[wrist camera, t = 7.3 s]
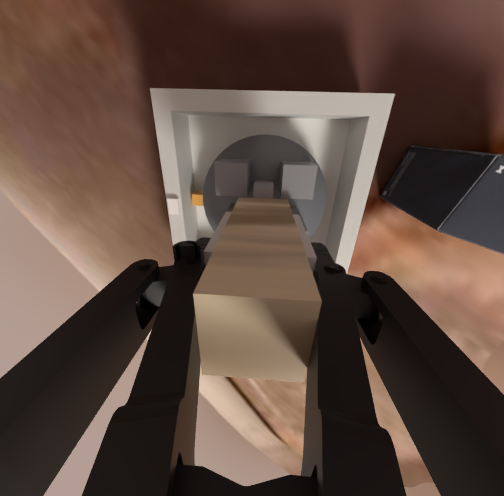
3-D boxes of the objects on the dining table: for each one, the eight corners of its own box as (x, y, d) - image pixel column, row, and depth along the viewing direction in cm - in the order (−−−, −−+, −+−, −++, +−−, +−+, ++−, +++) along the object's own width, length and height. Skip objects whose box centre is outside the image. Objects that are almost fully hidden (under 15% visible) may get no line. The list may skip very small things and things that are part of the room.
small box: (375, 199, 27) (433, 233, 17) (409, 143, 24) (500, 147, 15) (451, 226, 28) (545, 273, 18) (492, 175, 25) (629, 199, 15)
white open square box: (179, 100, 23) (147, 86, 17) (362, 104, 22) (397, 92, 16) (194, 256, 32) (177, 285, 26) (327, 264, 31) (342, 295, 25)
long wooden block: (230, 179, 20) (156, 264, 7) (297, 181, 20) (363, 276, 6) (231, 239, 23) (180, 387, 9) (290, 242, 22) (325, 399, 9)
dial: (191, 132, 23) (170, 131, 18) (332, 136, 22) (351, 136, 17) (201, 246, 28) (187, 268, 24) (312, 252, 28) (322, 276, 23)
